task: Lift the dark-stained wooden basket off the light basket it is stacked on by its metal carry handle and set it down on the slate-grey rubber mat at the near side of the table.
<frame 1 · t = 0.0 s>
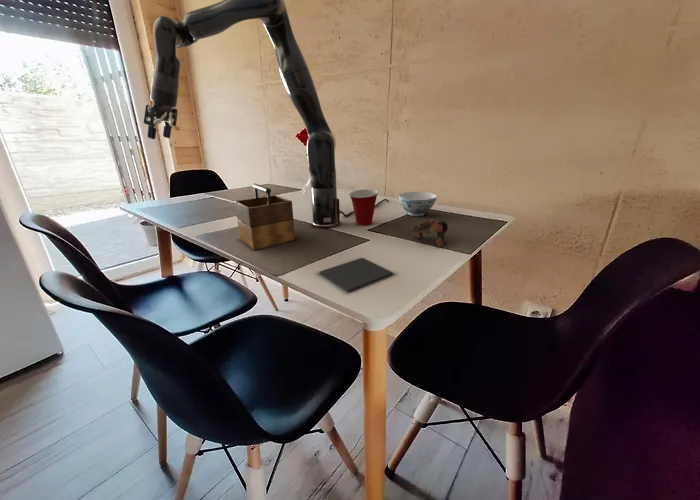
hand: (159, 137, 108), 31 cm above the table, tool tilted 20°, fingers open, 8 cm apart
chinaware: (416, 214, 129), on the table
brown toy animal: (431, 242, 99), on the table
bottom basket: (267, 239, 102), on the table, touching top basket
mat: (355, 274, 78), on the table
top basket: (265, 219, 100), point 7 cm above the table, touching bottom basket
plastic cup: (363, 223, 118), on the table
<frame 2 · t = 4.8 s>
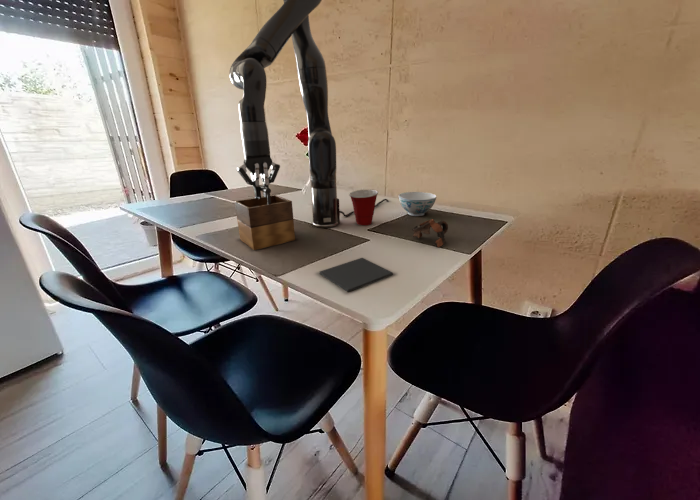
hand: (262, 197, 97), 14 cm above the table, tool pointing down, fingers closed on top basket
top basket: (265, 219, 100), point 7 cm above the table, touching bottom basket, gripper
everything else where it was.
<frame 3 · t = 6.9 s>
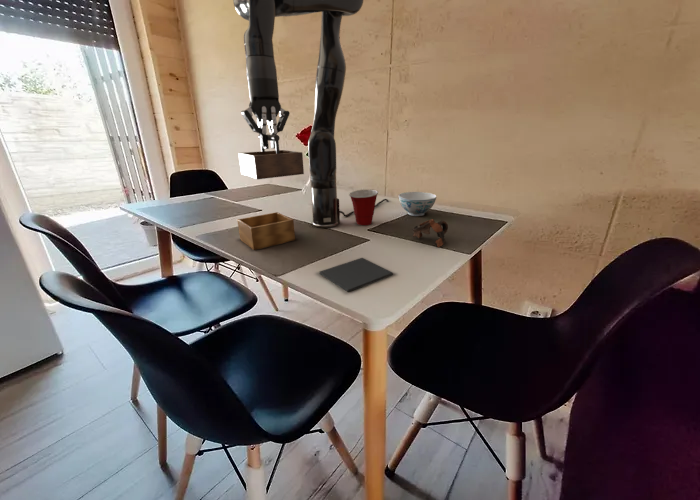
hand: (269, 148, 87), 29 cm above the table, tool pointing down, fingers closed on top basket
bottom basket: (267, 239, 102), on the table
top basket: (272, 174, 90), point 22 cm above the table, touching gripper
everything else where it was.
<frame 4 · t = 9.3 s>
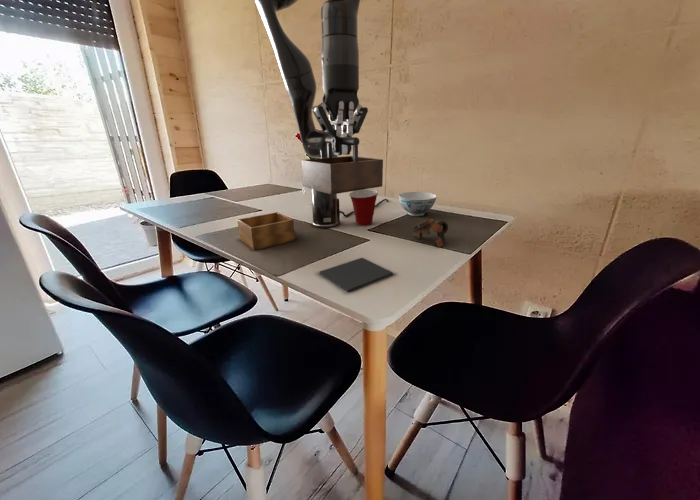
hand: (342, 154, 69), 29 cm above the table, tool pointing down, fingers closed on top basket
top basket: (342, 186, 72), point 22 cm above the table, touching gripper
everything else where it was.
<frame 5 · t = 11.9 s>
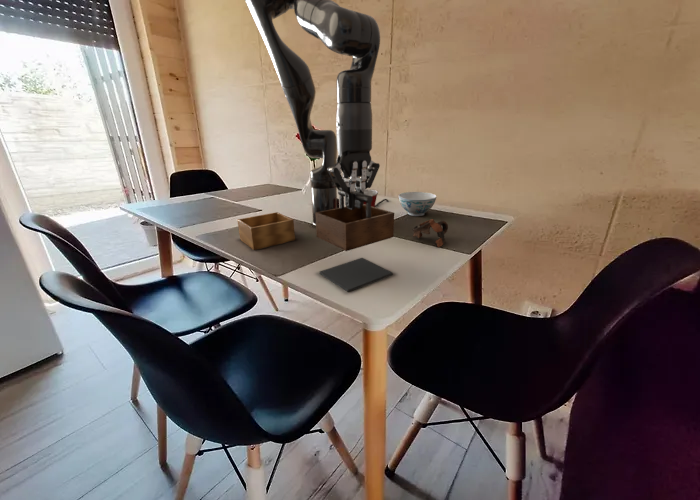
hand: (354, 207, 72), 17 cm above the table, tool pointing down, fingers closed on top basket
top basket: (354, 236, 74), point 10 cm above the table, touching gripper
everything else where it was.
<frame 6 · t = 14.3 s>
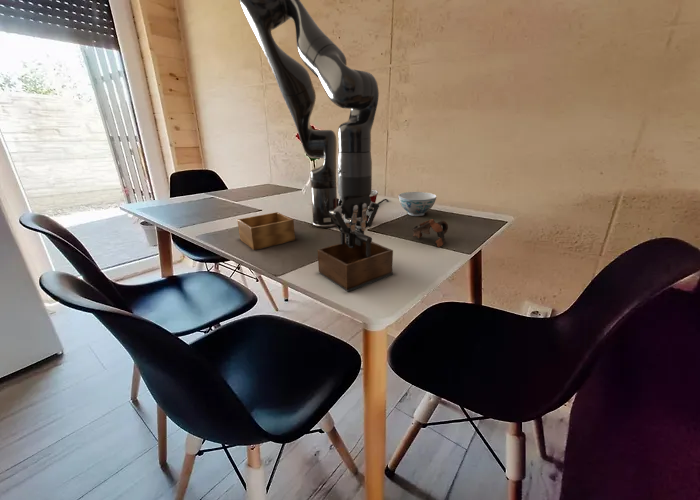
hand: (355, 245, 75), 8 cm above the table, tool pointing down, fingers closed
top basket: (355, 272, 78), point 1 cm above the table, touching mat
everything else where it was.
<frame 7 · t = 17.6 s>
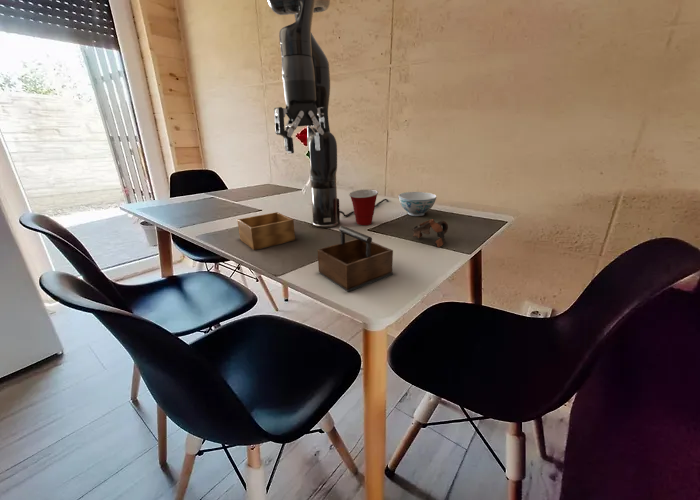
hand: (305, 151, 80), 29 cm above the table, tool pointing down, fingers open, 8 cm apart
nothing on the table moved.
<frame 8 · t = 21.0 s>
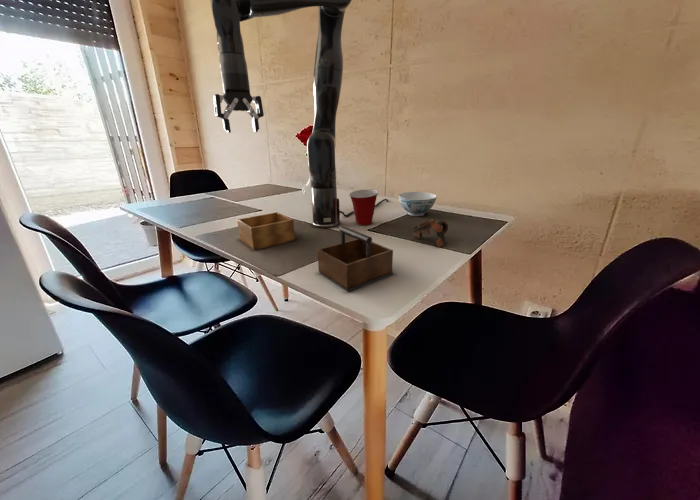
hand: (242, 132, 97), 33 cm above the table, tool pointing down, fingers open, 8 cm apart
nothing on the table moved.
at the end: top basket inside the target area on the mat (0.1 cm from its centre), point 0.6 cm above the mat's base; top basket tilted 0°; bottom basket moved 0.0 cm from its start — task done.
